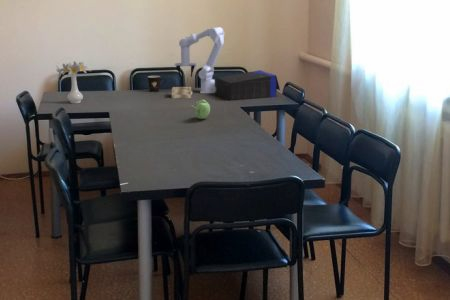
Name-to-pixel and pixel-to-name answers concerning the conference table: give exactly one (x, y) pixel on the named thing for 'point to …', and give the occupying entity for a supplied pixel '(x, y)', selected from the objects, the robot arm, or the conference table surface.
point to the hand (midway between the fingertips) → (185, 76)
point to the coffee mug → (154, 83)
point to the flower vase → (73, 80)
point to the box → (181, 92)
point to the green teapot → (202, 109)
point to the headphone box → (247, 86)
